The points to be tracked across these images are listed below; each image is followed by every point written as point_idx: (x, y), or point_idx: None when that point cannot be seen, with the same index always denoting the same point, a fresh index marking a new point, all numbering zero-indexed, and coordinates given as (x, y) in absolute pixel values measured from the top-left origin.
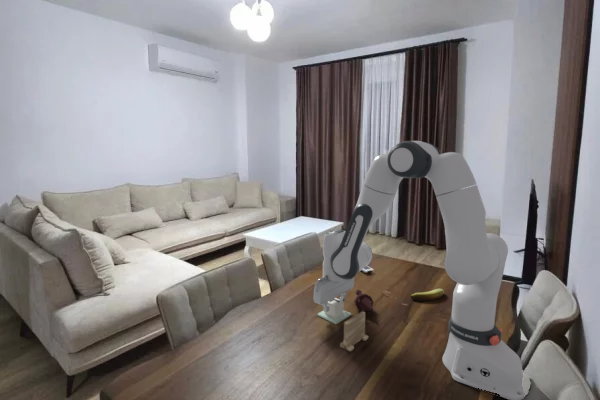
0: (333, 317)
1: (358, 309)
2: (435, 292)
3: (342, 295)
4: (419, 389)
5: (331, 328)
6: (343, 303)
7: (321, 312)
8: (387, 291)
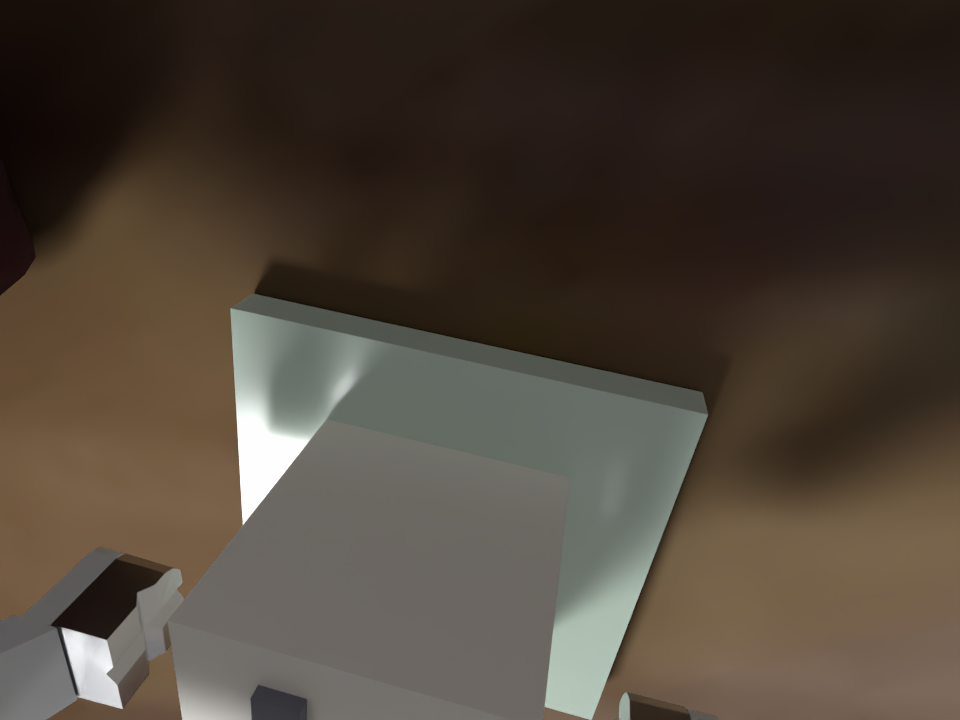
0: None
1: (26, 238)
2: None
3: (2, 715)
4: None
5: (892, 404)
6: (215, 569)
7: None
8: None
